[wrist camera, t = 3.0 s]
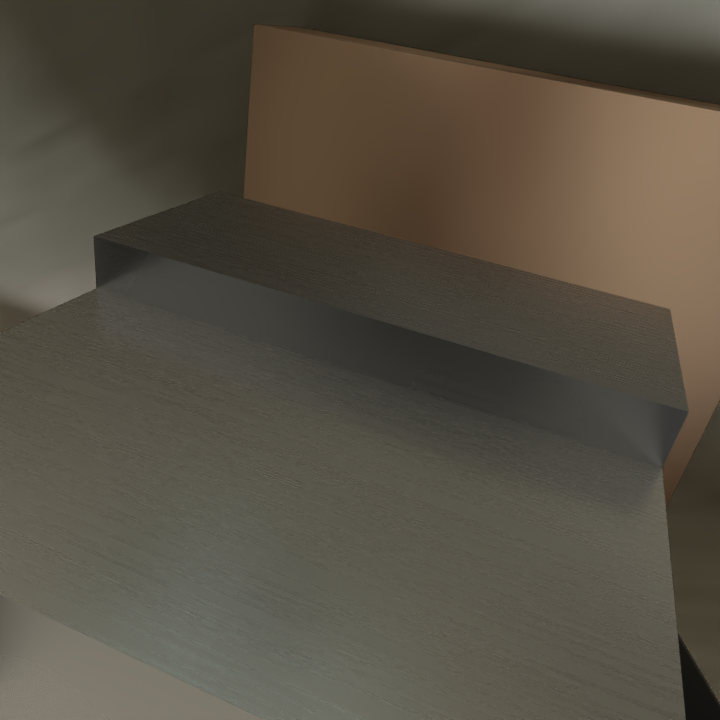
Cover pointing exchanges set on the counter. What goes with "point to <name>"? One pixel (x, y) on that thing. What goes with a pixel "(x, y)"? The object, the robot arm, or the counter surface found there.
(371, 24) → the counter surface
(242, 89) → the counter surface
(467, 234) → the stand
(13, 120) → the counter surface
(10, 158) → the counter surface
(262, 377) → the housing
